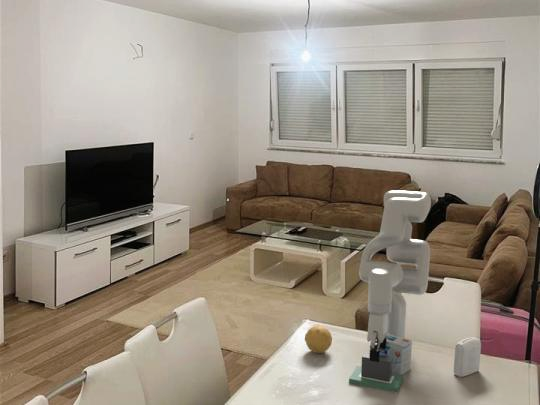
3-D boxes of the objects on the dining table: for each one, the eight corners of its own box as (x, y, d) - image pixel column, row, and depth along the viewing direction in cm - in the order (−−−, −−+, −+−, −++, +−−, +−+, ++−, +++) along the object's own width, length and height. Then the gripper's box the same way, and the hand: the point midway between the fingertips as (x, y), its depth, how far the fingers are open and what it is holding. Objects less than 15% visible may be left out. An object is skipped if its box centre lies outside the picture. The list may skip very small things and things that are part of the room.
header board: (356, 369, 198) (357, 357, 197) (403, 379, 191) (403, 366, 191) (348, 382, 189) (349, 369, 188) (397, 392, 182) (398, 379, 182)
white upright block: (470, 366, 201) (473, 333, 199) (481, 371, 198) (483, 337, 195) (451, 373, 196) (453, 339, 193) (461, 378, 192) (464, 344, 190)
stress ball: (318, 347, 218) (299, 332, 216) (336, 330, 215) (316, 315, 213) (320, 363, 208) (300, 347, 206) (338, 345, 206) (318, 330, 204)
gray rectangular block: (364, 371, 193) (364, 351, 192) (391, 376, 190) (392, 357, 188) (361, 376, 190) (361, 356, 189) (389, 382, 186) (390, 362, 185)
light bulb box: (374, 366, 201) (375, 337, 199) (384, 359, 206) (386, 331, 204) (401, 376, 194) (402, 346, 192) (411, 369, 199) (412, 340, 197)
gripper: (374, 295, 195) (373, 341, 198) (361, 314, 179) (360, 364, 183) (396, 298, 192) (394, 345, 195) (385, 318, 176) (383, 368, 180)
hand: (377, 354), depth 189 cm, fingers open, 9 cm apart
